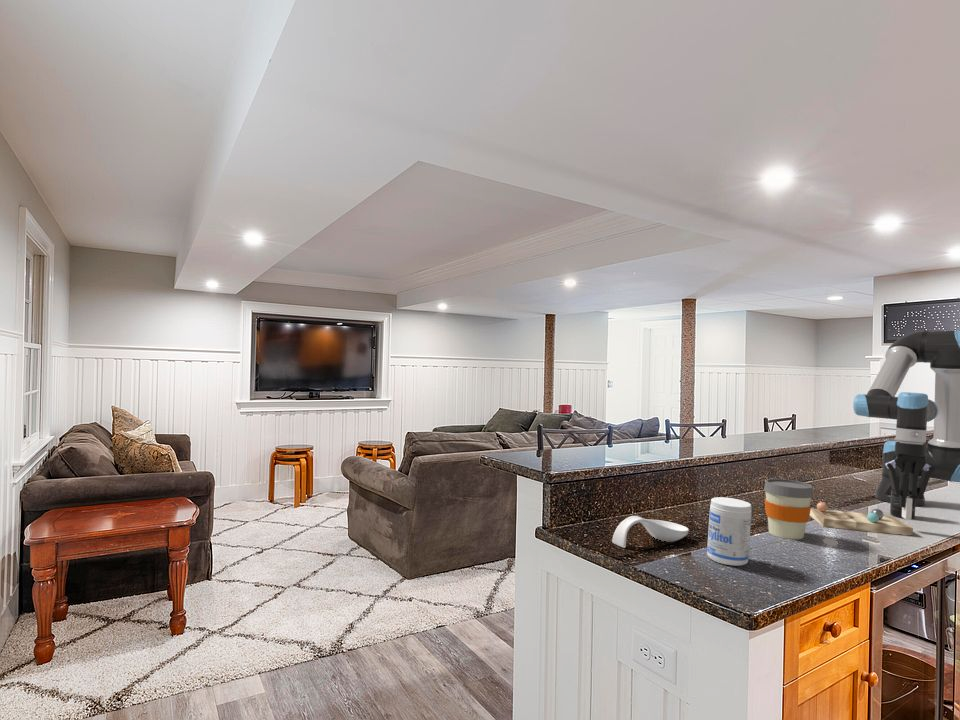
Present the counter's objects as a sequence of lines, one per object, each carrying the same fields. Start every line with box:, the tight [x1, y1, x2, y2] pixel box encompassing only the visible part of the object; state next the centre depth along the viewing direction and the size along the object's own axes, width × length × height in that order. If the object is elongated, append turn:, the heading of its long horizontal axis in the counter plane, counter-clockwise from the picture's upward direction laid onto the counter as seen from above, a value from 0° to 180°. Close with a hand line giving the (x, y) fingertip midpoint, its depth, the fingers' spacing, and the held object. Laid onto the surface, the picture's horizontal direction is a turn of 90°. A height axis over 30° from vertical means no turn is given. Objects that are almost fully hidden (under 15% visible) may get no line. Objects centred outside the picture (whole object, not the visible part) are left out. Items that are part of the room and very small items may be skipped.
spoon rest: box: [611, 515, 690, 549], centre depth 154 cm, size 24×12×7 cm, turn 120°
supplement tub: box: [706, 496, 753, 567], centre depth 141 cm, size 10×10×15 cm
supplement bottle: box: [889, 480, 917, 520], centre depth 192 cm, size 7×7×12 cm
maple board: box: [809, 507, 914, 536], centre depth 178 cm, size 24×13×2 cm, turn 76°
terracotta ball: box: [816, 501, 828, 512], centre depth 184 cm, size 3×3×3 cm
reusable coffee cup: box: [763, 478, 814, 540], centre depth 165 cm, size 13×12×15 cm
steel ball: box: [870, 508, 884, 519], centre depth 177 cm, size 3×3×3 cm
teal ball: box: [867, 512, 879, 523], centre depth 173 cm, size 3×3×3 cm
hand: (906, 518), depth 175 cm, fingers closed
